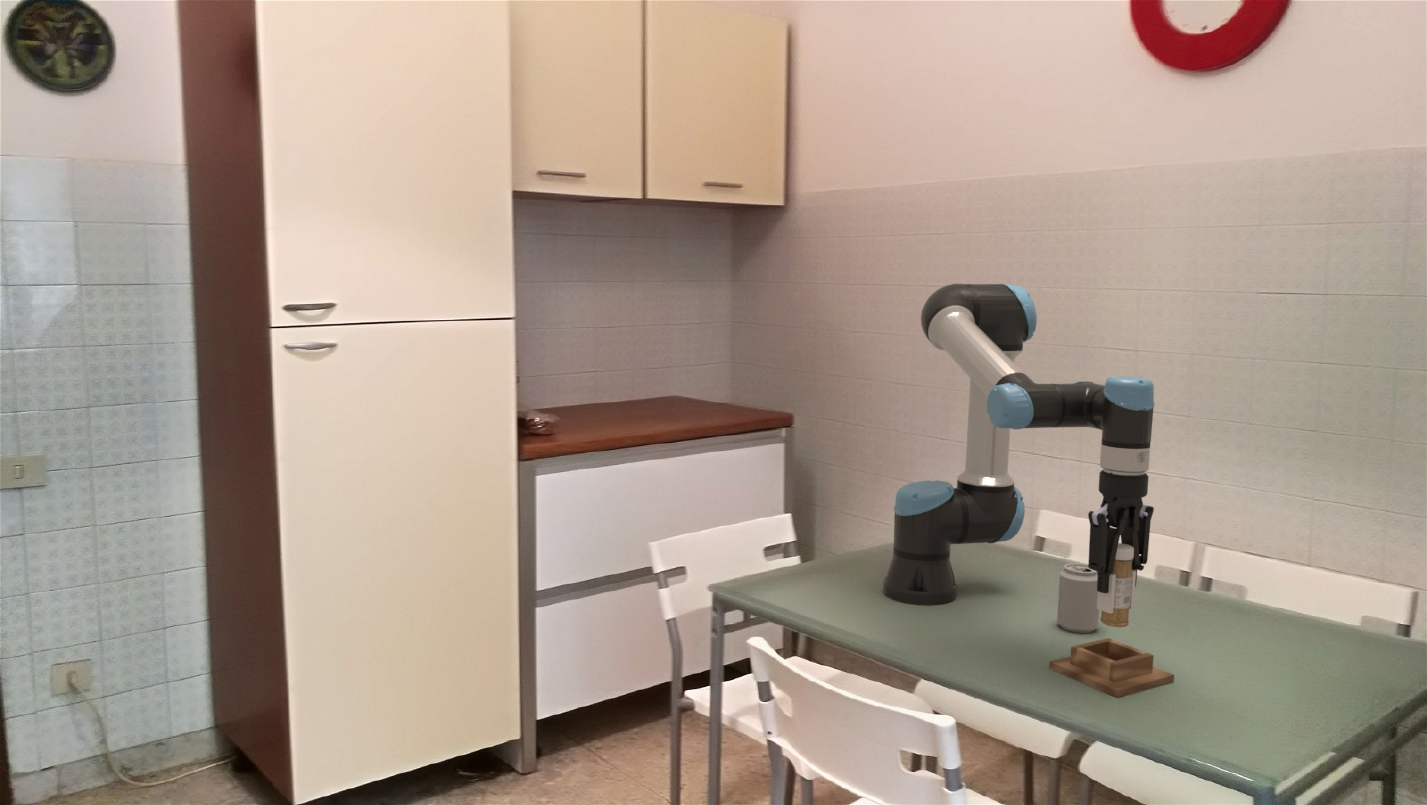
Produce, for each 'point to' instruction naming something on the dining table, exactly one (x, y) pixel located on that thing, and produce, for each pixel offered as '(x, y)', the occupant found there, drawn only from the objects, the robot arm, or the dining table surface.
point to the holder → (1112, 667)
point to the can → (1078, 598)
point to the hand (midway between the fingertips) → (1115, 608)
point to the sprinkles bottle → (1121, 588)
